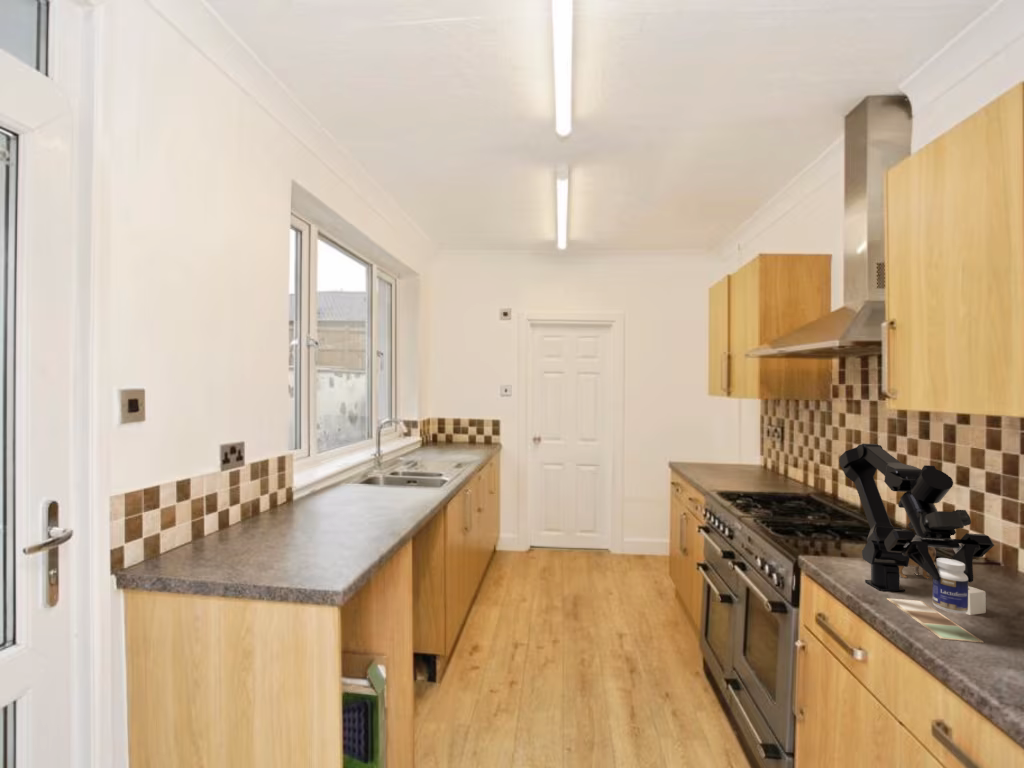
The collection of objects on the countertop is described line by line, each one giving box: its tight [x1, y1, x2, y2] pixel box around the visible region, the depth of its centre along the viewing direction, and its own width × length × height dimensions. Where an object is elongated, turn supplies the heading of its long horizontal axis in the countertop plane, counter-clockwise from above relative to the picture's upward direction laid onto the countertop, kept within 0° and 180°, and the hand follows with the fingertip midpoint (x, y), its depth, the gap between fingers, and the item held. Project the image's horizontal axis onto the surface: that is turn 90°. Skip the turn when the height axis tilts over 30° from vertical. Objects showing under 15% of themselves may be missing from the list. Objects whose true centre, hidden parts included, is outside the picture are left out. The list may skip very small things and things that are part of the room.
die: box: [965, 585, 987, 616], centre depth 120 cm, size 5×5×5 cm
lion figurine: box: [898, 547, 937, 579], centre depth 143 cm, size 15×5×9 cm, turn 95°
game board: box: [886, 597, 984, 644], centre depth 115 cm, size 21×8×1 cm, turn 169°
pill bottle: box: [931, 557, 969, 614], centre depth 108 cm, size 6×6×10 cm
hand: (954, 580), depth 107 cm, fingers closed on pill bottle, 6 cm apart
